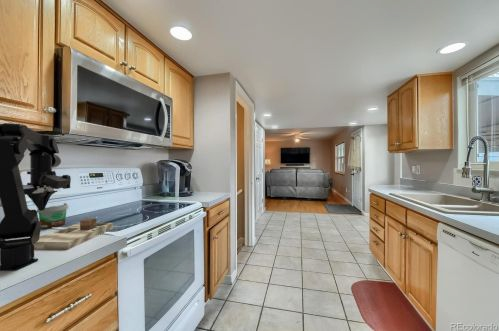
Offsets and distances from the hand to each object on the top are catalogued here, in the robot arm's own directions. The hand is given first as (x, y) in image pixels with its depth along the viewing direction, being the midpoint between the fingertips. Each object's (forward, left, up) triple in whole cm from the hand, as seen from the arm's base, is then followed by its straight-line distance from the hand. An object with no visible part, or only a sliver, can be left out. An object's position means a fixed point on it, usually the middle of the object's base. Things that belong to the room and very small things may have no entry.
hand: (41, 210), depth 79 cm
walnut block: (+12, -8, -10) cm, 18 cm away
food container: (+23, +16, -13) cm, 31 cm away
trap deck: (+9, -5, -13) cm, 16 cm away
